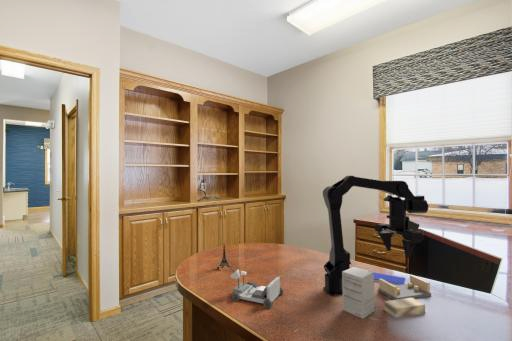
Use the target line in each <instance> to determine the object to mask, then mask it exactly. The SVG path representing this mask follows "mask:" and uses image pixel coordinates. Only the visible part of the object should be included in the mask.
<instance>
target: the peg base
mask: <svg viewBox="0 0 512 341" xmlns="http://www.w3.org/2000/svg"><path fill="white" fill-rule="evenodd" d="M430 284H431V282H428V281H426V280H425V279H422V278H419V277H417V276H415V275H413V274H409V282H407V283H405V284H403V285H392V284H390V283H389V282H387V281H385V280H383V279H379V282H378V289H377V290H378V291H379V292H381V294H384V295H386V296H387V297H389V298H390V299H392V300H398V299H405V298H414V299H418V298H419V299H420V298H426V297H432V293H431V289H430V288H431V285H430Z"/></svg>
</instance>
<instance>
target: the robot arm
mask: <svg viewBox="0 0 512 341" xmlns="http://www.w3.org/2000/svg"><path fill="white" fill-rule="evenodd" d="M353 187H356V188H364V189H370V190H375V191H376V190H377V191H380V192H383V193H385V194H387V195H386V197H384V198H383V201H384V202H388V211H389V212H388V214H389V215H388V214H386V219H389V220H388V221H389V223H376V224H375V226H374V231H375V232H377V233H376V234H378V236H379V238H380V239H381V241H382V243H383V245H384V247H385V249H386V250H387V251H388V252H390V251H391V249H392V237H393V235H394V234H397V235H400V236H402V239H401V241H402V246H403V252H404V255H405V258H407V259H410V258H411V257H410V256H411V255H412V251H413V250H414V247H415V245H416V244H417V243H421V241H425V234H424V233H423V232H422V231H420V230H419V228H420V224H419V223H417V222H414V221H411V220H410V217H409V216H407V213H408V214H426V213H428V211H429V204H428V201H427V200H426V198H425V195H414V193H413V192H412V191H411V189H410V188H409V185H408V183H407V182H406V181H404V180H379V179H373V178H366V177H365V178H364V177H359V176H355V175H346V176H344V177H343V178H342V179H340V180H339V181H337V182H335V183H334V184H332V185H331V186H330V185H329V186H326V187H325V188H324V189H323V190H322V197H323V201H324V203H325V206H326V208H327V212H328V222H329V232H330V243H331V245H330V246H331V247H330V250H329V257H328V258H329V260H328V261H327V262H326V263H325V264H324V265H323V269H324V272H326V273H324V286H323V287H322V289H323V290H324V291H325V292H326V293H328V294H329V295H330V296H338V295H343V291H342V272H343V271H345V270H347V269H350V268H351V265H352V263H351V253H350V252H349V251H348V250H346V249H345V247H344V246H345V245H344V237H343V227H342V217H341V208H342V205H343V197H344V196H345V195H346V194H347V193H348V192H349V191H350V190H351V189H352V188H353Z"/></svg>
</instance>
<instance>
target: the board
mask: <svg viewBox="0 0 512 341" xmlns="http://www.w3.org/2000/svg"><path fill="white" fill-rule="evenodd" d="M383 304H384V305H383V306H384V307H383V309H384V311H385V312H387V313H389V314H390V315H391V316H392V317H394V318H402V317H408V316H413V315H420V314H426V304H425V303H423V302H422V301H420V300H418V299H417V298H405V299H398V300H394V299H392V300H386V301H384V302H383Z"/></svg>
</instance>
